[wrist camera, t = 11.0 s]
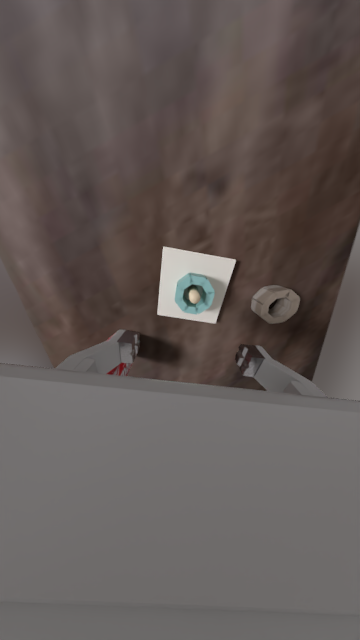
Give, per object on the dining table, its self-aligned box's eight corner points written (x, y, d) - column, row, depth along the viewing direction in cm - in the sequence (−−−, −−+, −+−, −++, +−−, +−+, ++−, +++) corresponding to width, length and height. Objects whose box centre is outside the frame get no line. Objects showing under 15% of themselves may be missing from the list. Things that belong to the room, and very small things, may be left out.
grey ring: (286, 282, 23) (302, 287, 20) (281, 312, 26) (295, 320, 23) (252, 288, 24) (263, 294, 21) (250, 317, 27) (259, 325, 23)
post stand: (233, 259, 22) (250, 261, 16) (214, 320, 27) (222, 337, 22) (164, 246, 21) (157, 244, 16) (158, 312, 27) (151, 327, 21)
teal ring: (213, 276, 22) (218, 280, 19) (204, 308, 25) (208, 316, 22) (179, 270, 22) (178, 273, 18) (174, 303, 24) (172, 310, 21)
